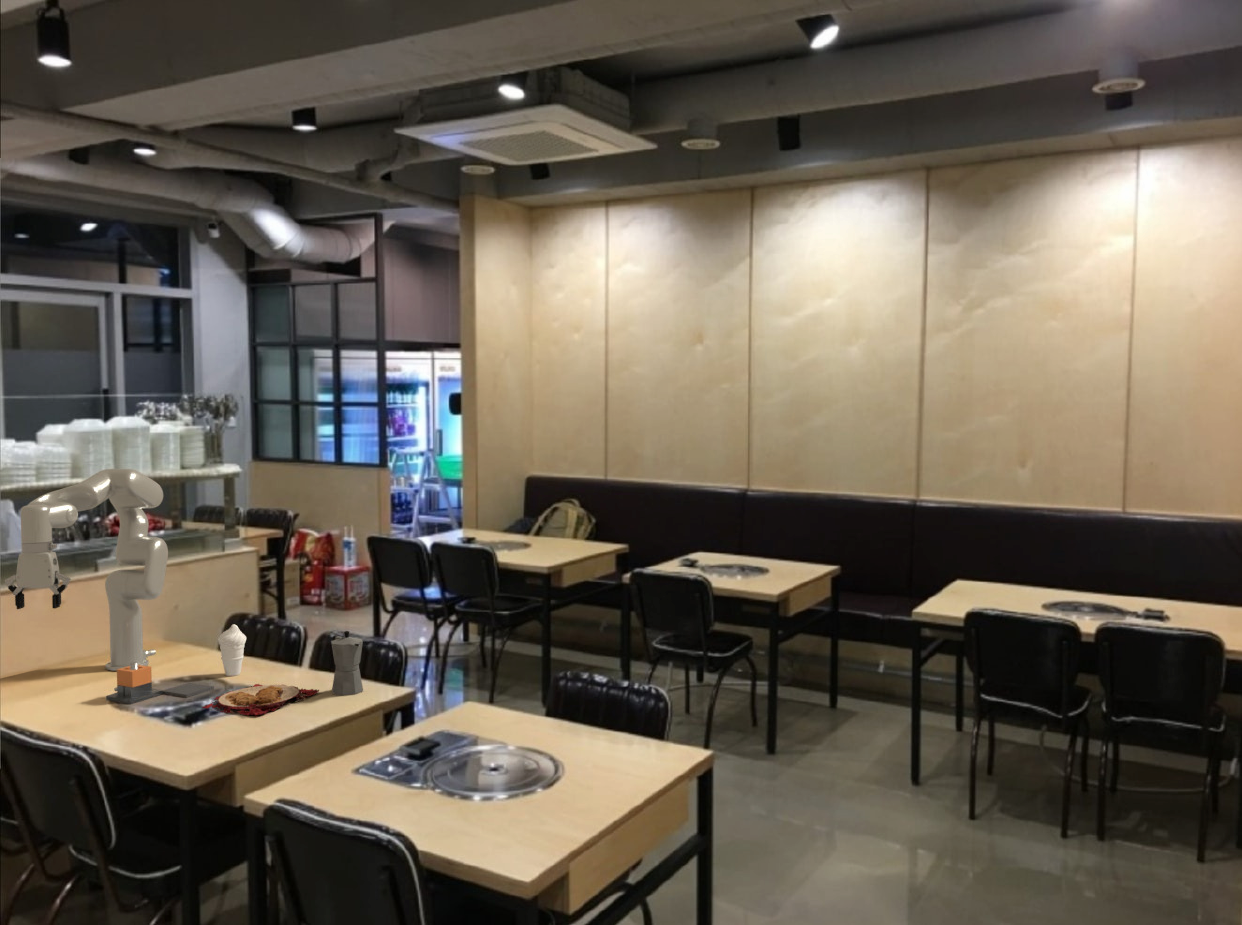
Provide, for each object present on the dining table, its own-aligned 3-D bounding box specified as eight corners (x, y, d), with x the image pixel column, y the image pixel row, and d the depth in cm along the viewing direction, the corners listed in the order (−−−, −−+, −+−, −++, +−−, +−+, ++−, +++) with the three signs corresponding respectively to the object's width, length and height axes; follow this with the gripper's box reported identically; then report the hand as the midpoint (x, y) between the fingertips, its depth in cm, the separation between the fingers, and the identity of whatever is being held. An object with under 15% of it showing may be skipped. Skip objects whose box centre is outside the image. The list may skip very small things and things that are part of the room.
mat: (189, 685, 302) (189, 682, 302) (213, 688, 298) (213, 686, 298) (161, 693, 293) (161, 690, 293) (186, 697, 289) (186, 694, 289)
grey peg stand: (138, 690, 297) (138, 657, 296) (162, 694, 292) (162, 660, 292) (106, 699, 287) (105, 665, 286) (130, 704, 282) (129, 669, 282)
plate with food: (320, 696, 293) (320, 684, 293) (258, 718, 269) (258, 705, 269) (256, 689, 302) (256, 677, 302) (190, 710, 278) (190, 697, 278)
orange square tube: (136, 679, 294) (135, 664, 293) (151, 681, 291) (151, 666, 291) (117, 684, 288) (116, 669, 288) (132, 687, 285) (132, 671, 285)
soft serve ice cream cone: (212, 676, 312) (211, 625, 312) (230, 670, 320) (229, 620, 320) (235, 678, 310) (234, 627, 309) (252, 672, 318) (251, 622, 317)
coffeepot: (373, 692, 294) (372, 632, 293) (344, 699, 287) (343, 637, 287) (347, 682, 305) (346, 624, 304) (318, 688, 298) (317, 628, 298)
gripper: (74, 546, 289) (76, 605, 289) (11, 547, 287) (13, 606, 288) (62, 549, 281) (64, 609, 282) (-3, 550, 279) (-1, 611, 280)
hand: (38, 608), depth 285 cm, fingers open, 9 cm apart
